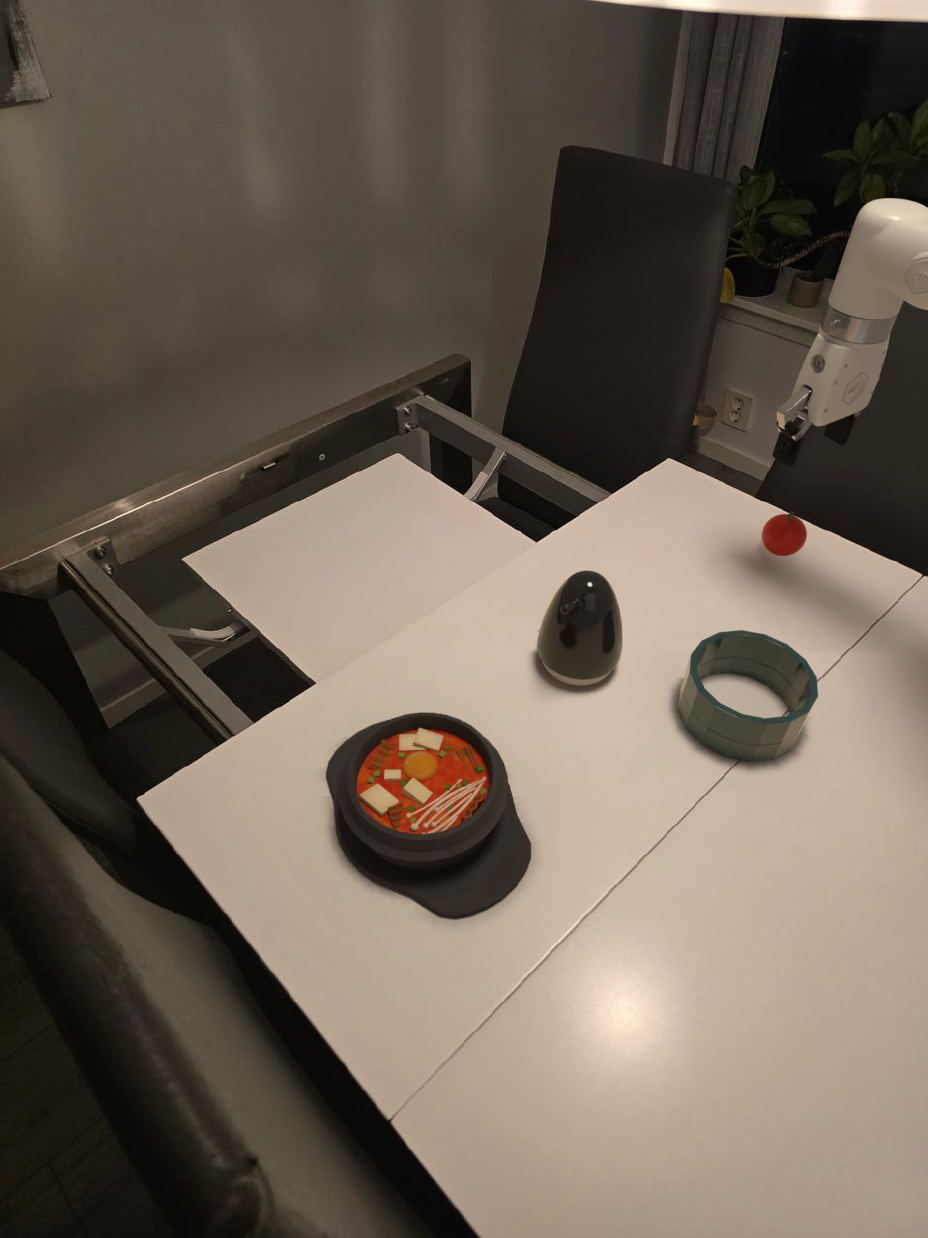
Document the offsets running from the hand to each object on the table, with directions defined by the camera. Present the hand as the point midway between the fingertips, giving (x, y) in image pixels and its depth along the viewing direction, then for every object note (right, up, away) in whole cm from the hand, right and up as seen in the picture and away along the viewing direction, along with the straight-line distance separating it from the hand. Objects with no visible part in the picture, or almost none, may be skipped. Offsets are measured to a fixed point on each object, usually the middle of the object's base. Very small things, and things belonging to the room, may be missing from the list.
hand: (808, 450), depth 101 cm
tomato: (+1, -10, +11) cm, 15 cm away
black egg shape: (-31, -28, -4) cm, 42 cm away
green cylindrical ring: (-13, -34, -9) cm, 37 cm away
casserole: (-49, -43, -19) cm, 68 cm away
